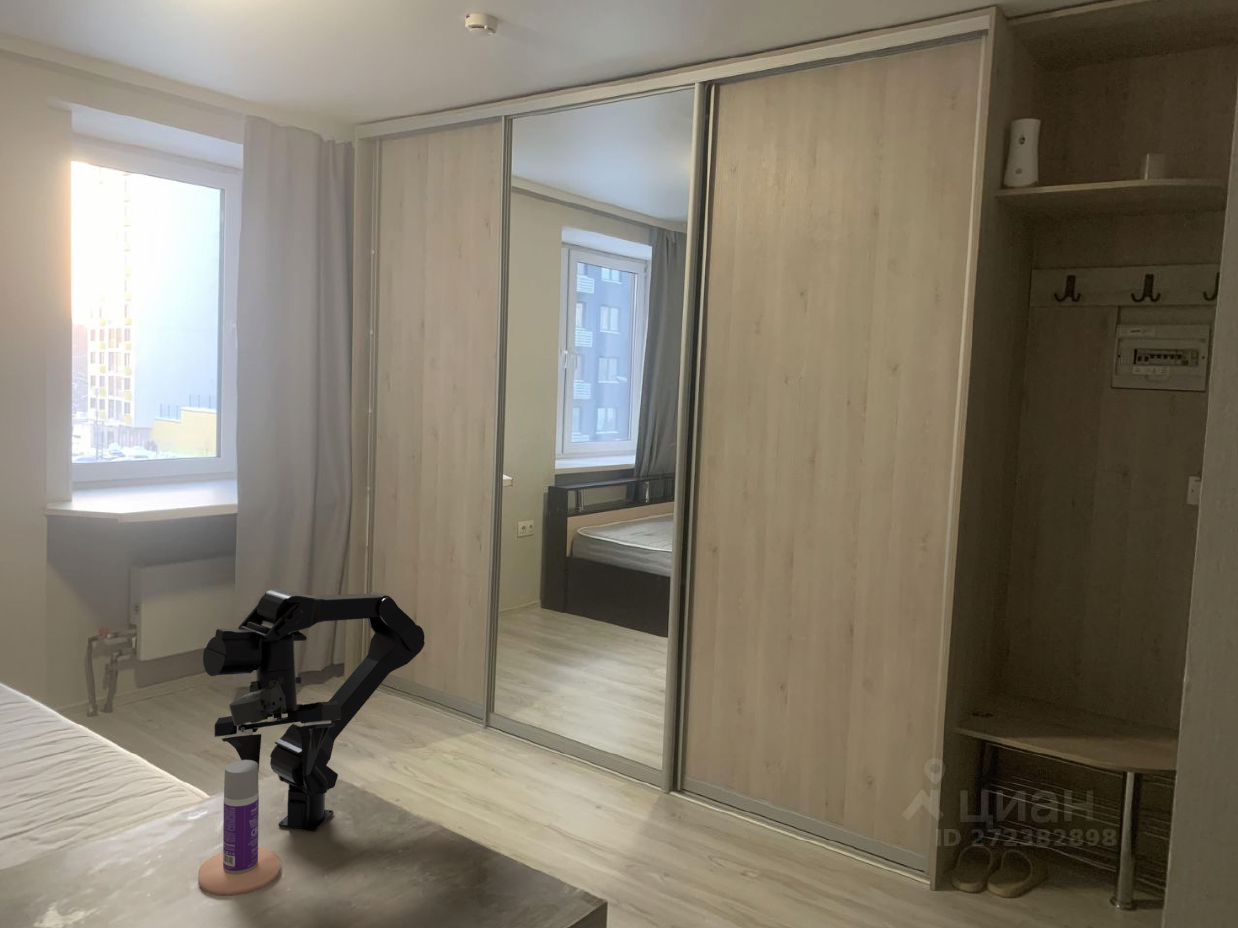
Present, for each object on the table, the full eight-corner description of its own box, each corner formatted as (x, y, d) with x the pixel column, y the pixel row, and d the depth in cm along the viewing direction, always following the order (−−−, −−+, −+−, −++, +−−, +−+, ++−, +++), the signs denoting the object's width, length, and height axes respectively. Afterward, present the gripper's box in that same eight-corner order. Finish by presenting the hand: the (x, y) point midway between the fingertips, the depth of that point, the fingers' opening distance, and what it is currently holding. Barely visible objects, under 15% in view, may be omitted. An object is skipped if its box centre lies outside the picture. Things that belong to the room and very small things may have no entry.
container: (257, 871, 130) (258, 770, 129) (222, 876, 129) (223, 774, 127) (258, 855, 135) (259, 757, 133) (223, 859, 133) (224, 761, 132)
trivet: (228, 850, 138) (228, 842, 138) (294, 859, 136) (294, 852, 136) (181, 889, 127) (181, 880, 127) (252, 900, 125) (252, 892, 125)
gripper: (187, 681, 135) (189, 792, 131) (297, 663, 130) (302, 776, 126) (237, 681, 145) (240, 783, 141) (340, 664, 141) (346, 768, 137)
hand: (279, 778), depth 136 cm, fingers open, 9 cm apart
